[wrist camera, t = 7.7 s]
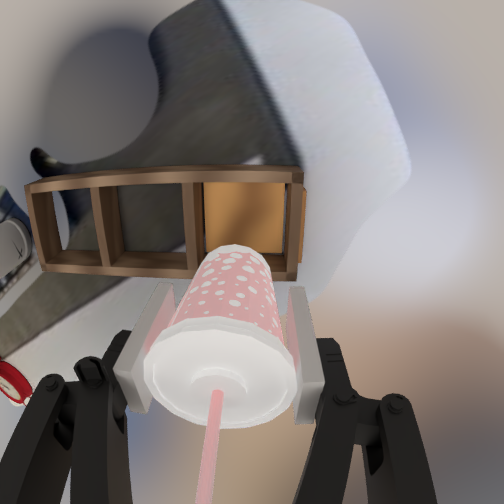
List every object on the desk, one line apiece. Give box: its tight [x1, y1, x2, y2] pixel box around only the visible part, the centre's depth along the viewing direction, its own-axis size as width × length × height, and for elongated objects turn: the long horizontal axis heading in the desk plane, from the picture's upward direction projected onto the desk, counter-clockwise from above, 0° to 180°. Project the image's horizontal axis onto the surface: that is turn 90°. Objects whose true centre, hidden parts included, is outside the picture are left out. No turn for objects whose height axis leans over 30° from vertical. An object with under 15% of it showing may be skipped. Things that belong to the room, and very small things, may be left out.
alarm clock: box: [0, 357, 33, 406], centre depth 44 cm, size 10×6×15 cm
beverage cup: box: [144, 244, 297, 504], centre depth 13 cm, size 6×6×14 cm
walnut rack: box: [24, 165, 307, 281], centre depth 29 cm, size 30×10×4 cm, turn 89°
